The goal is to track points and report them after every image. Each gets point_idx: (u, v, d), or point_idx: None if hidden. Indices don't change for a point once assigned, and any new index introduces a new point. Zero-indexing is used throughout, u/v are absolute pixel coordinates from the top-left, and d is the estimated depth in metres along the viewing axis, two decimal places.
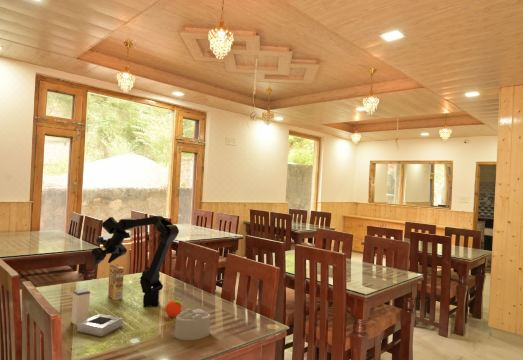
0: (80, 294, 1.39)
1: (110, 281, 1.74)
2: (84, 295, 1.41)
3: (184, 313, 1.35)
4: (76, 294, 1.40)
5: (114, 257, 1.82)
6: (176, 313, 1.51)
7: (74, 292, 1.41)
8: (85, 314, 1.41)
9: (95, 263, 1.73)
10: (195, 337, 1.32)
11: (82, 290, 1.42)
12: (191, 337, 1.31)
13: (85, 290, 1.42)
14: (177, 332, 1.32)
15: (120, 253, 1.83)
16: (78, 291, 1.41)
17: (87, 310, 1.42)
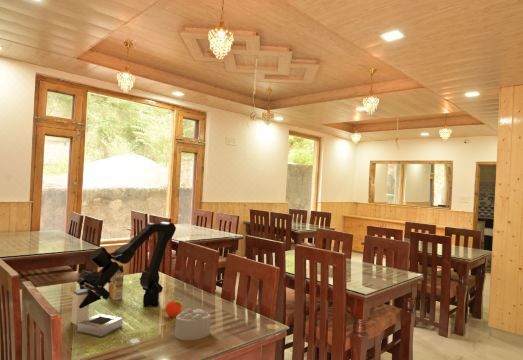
0: (80, 294, 1.39)
1: None
2: (84, 295, 1.40)
3: (184, 313, 1.35)
4: (76, 294, 1.40)
5: None
6: (176, 313, 1.51)
7: (74, 292, 1.41)
8: (85, 314, 1.41)
9: (84, 304, 1.40)
10: (195, 337, 1.32)
11: (82, 290, 1.42)
12: (191, 337, 1.31)
13: (85, 290, 1.42)
14: (177, 332, 1.32)
15: None
16: (78, 291, 1.41)
17: (87, 310, 1.42)
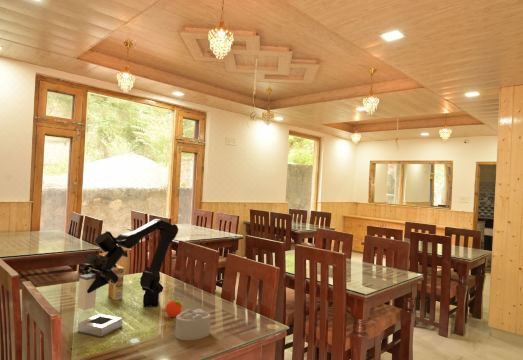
0: (88, 278, 1.37)
1: None
2: (92, 279, 1.38)
3: (184, 313, 1.35)
4: (83, 279, 1.37)
5: None
6: (176, 313, 1.51)
7: (81, 277, 1.38)
8: (93, 298, 1.39)
9: (92, 288, 1.38)
10: (195, 337, 1.32)
11: (89, 275, 1.40)
12: (191, 337, 1.31)
13: (92, 275, 1.40)
14: (177, 332, 1.32)
15: None
16: (85, 276, 1.38)
17: (94, 295, 1.40)
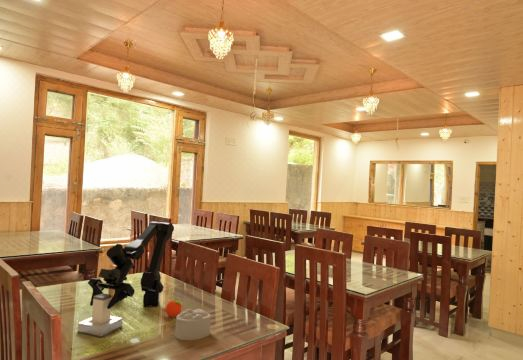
0: (104, 299, 1.34)
1: None
2: (107, 299, 1.35)
3: (184, 313, 1.35)
4: (99, 299, 1.33)
5: None
6: (176, 313, 1.51)
7: (95, 298, 1.34)
8: (108, 318, 1.36)
9: (112, 304, 1.34)
10: (195, 337, 1.32)
11: (102, 295, 1.36)
12: (191, 337, 1.31)
13: (106, 294, 1.37)
14: (177, 332, 1.31)
15: None
16: (100, 296, 1.34)
17: (109, 315, 1.37)
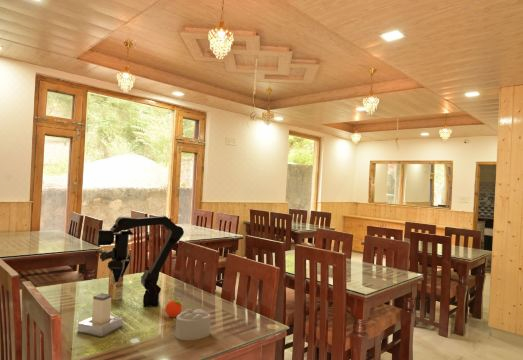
0: (104, 299, 1.34)
1: (110, 281, 1.74)
2: (107, 299, 1.35)
3: (184, 313, 1.35)
4: (99, 299, 1.33)
5: (124, 267, 1.64)
6: (176, 313, 1.51)
7: (95, 298, 1.34)
8: (107, 318, 1.36)
9: (116, 278, 1.54)
10: (195, 337, 1.32)
11: (102, 295, 1.36)
12: (191, 337, 1.31)
13: (106, 294, 1.37)
14: (178, 332, 1.31)
15: (127, 260, 1.67)
16: (100, 296, 1.34)
17: (109, 315, 1.37)
